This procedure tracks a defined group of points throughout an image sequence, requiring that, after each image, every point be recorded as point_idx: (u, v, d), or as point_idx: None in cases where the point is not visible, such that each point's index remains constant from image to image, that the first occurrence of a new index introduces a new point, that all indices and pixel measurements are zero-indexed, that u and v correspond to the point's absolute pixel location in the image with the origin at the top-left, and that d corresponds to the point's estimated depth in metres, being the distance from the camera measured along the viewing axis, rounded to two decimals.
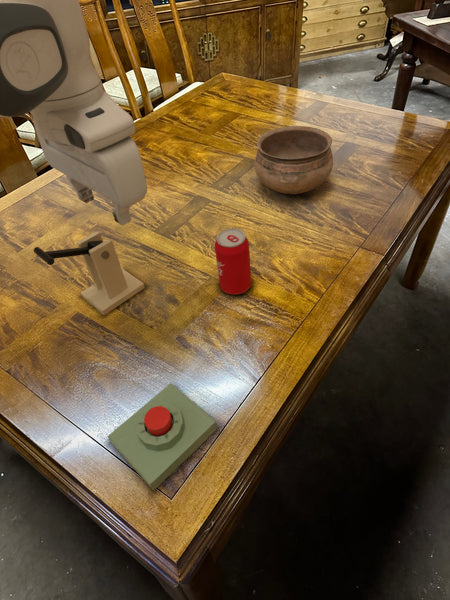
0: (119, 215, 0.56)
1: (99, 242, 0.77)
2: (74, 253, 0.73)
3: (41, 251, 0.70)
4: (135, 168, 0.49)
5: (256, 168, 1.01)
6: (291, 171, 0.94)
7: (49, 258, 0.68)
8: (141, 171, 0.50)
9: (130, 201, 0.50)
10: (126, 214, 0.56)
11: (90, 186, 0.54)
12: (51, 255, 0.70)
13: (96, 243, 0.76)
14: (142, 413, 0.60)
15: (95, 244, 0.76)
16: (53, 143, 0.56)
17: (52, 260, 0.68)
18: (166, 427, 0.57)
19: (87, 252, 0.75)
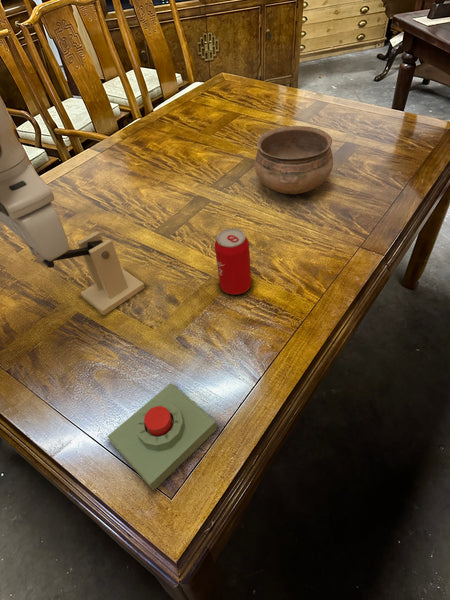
0: (37, 253, 0.67)
1: (99, 242, 0.77)
2: (74, 254, 0.73)
3: None
4: (55, 229, 0.58)
5: (256, 168, 1.01)
6: (291, 171, 0.94)
7: (49, 261, 0.68)
8: (61, 231, 0.59)
9: (52, 255, 0.59)
10: None
11: (23, 240, 0.63)
12: None
13: (96, 243, 0.76)
14: (142, 413, 0.60)
15: (94, 244, 0.75)
16: None
17: (52, 263, 0.69)
18: (166, 427, 0.57)
19: (87, 253, 0.75)
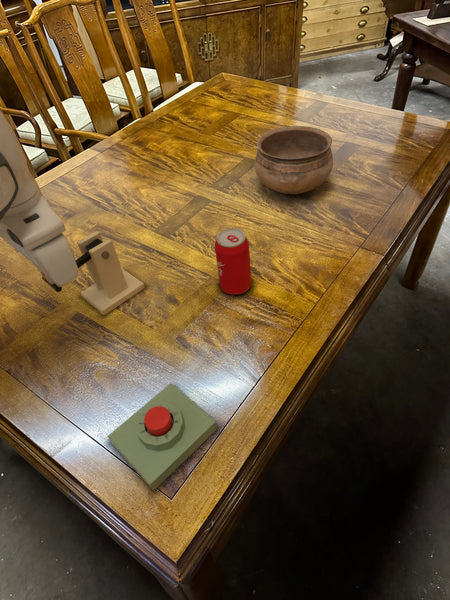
0: (48, 277, 0.70)
1: (96, 242, 0.76)
2: (77, 266, 0.75)
3: None
4: (66, 258, 0.61)
5: (256, 168, 1.01)
6: (291, 171, 0.94)
7: (56, 286, 0.71)
8: (72, 259, 0.62)
9: (63, 282, 0.63)
10: None
11: None
12: None
13: (93, 245, 0.76)
14: (142, 413, 0.60)
15: (92, 247, 0.75)
16: None
17: (59, 287, 0.72)
18: (166, 427, 0.57)
19: (89, 258, 0.76)
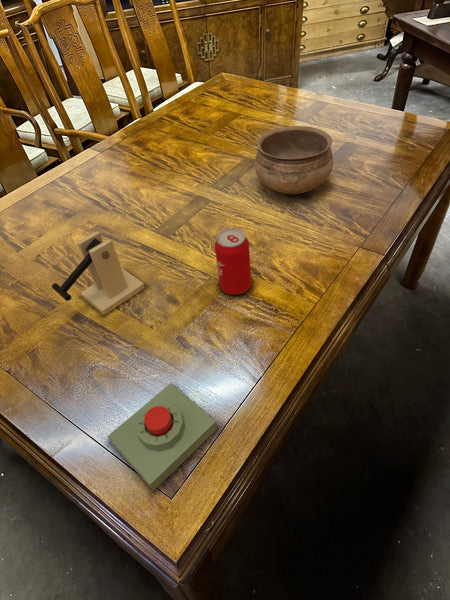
0: None
1: (94, 243, 0.76)
2: (81, 270, 0.76)
3: (57, 289, 0.75)
4: None
5: (256, 168, 1.01)
6: (291, 171, 0.94)
7: (64, 296, 0.74)
8: None
9: None
10: None
11: None
12: (66, 288, 0.75)
13: (92, 247, 0.76)
14: (142, 413, 0.60)
15: None
16: None
17: (68, 296, 0.74)
18: (166, 427, 0.57)
19: (91, 260, 0.76)
